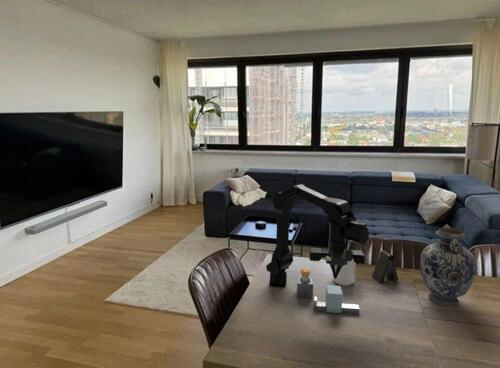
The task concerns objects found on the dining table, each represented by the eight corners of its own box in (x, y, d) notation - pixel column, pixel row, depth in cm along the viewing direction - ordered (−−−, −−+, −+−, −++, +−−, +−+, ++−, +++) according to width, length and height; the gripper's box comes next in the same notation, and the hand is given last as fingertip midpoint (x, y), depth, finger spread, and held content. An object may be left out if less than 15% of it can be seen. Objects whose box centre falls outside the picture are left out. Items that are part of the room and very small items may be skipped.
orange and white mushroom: (300, 289, 138) (300, 272, 137) (300, 284, 141) (300, 268, 140) (309, 289, 137) (310, 273, 136) (309, 285, 141) (310, 268, 140)
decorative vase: (478, 318, 124) (488, 242, 119) (420, 309, 130) (427, 236, 125) (464, 290, 144) (472, 224, 139) (414, 284, 150) (419, 220, 145)
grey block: (326, 312, 126) (328, 293, 125) (325, 303, 132) (326, 285, 131) (341, 313, 126) (342, 294, 124) (339, 304, 132) (340, 286, 130)
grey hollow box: (296, 297, 137) (297, 283, 136) (296, 290, 143) (297, 276, 142) (312, 298, 137) (313, 284, 136) (311, 291, 143) (312, 277, 141)
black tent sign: (379, 283, 150) (382, 256, 148) (371, 276, 156) (373, 251, 153) (398, 280, 152) (400, 254, 150) (389, 274, 158) (392, 249, 155)
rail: (313, 310, 128) (314, 300, 128) (313, 306, 131) (313, 296, 131) (359, 314, 127) (359, 303, 126) (357, 309, 130) (358, 299, 129)
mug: (358, 284, 148) (360, 259, 146) (340, 288, 145) (341, 262, 143) (342, 272, 159) (343, 249, 157) (324, 275, 156) (326, 251, 154)
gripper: (311, 243, 117) (309, 287, 120) (369, 246, 115) (366, 290, 118) (310, 232, 128) (308, 272, 131) (363, 234, 125) (360, 275, 129)
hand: (335, 278), depth 127 cm, fingers closed
